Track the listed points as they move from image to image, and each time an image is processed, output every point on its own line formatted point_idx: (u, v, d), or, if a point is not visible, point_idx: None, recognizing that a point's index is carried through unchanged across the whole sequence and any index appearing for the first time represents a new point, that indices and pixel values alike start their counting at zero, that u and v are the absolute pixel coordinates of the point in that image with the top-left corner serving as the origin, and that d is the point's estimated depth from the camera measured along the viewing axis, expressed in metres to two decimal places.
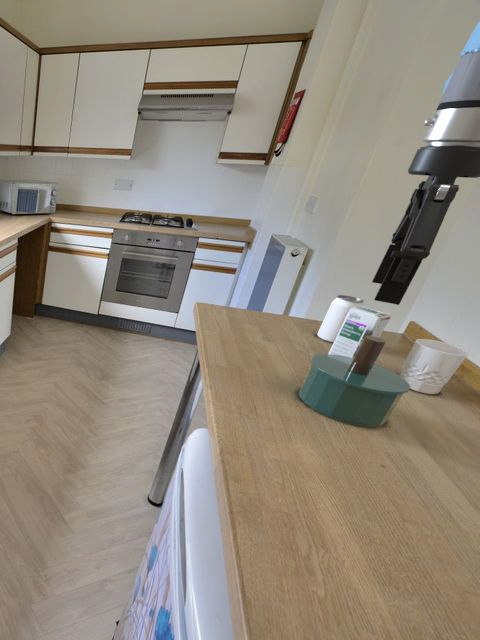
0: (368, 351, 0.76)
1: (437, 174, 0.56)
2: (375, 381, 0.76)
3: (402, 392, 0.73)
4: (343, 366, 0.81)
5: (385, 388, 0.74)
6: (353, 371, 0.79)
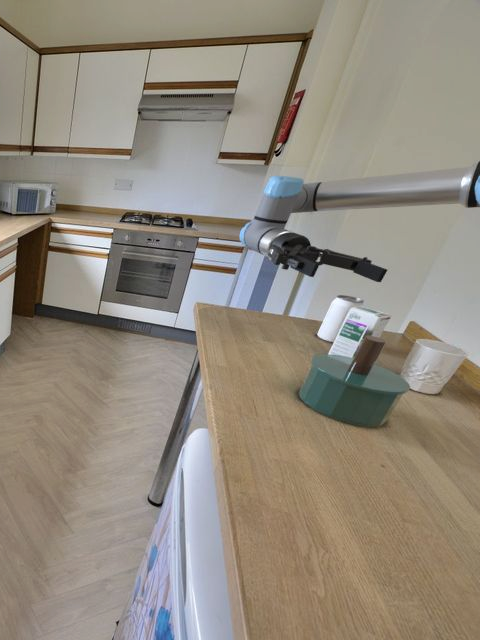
0: (368, 351, 0.76)
1: None
2: (375, 381, 0.76)
3: (402, 392, 0.73)
4: (343, 366, 0.81)
5: (385, 388, 0.74)
6: (353, 371, 0.79)
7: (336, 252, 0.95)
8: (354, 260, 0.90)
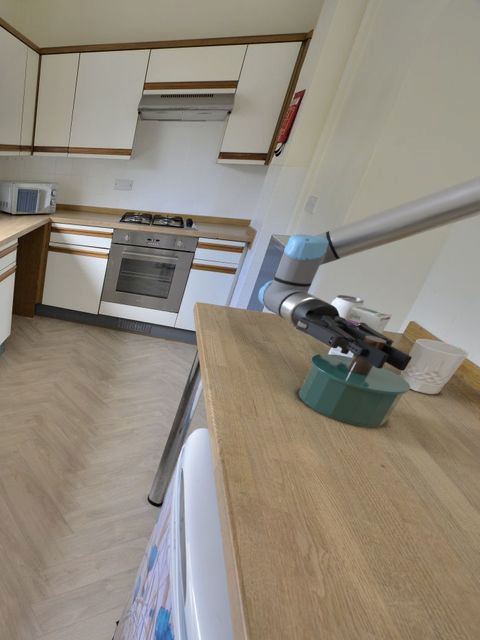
0: None
1: None
2: (375, 381, 0.76)
3: (402, 392, 0.73)
4: (343, 366, 0.81)
5: (385, 388, 0.74)
6: (353, 371, 0.79)
7: (367, 327, 0.84)
8: None
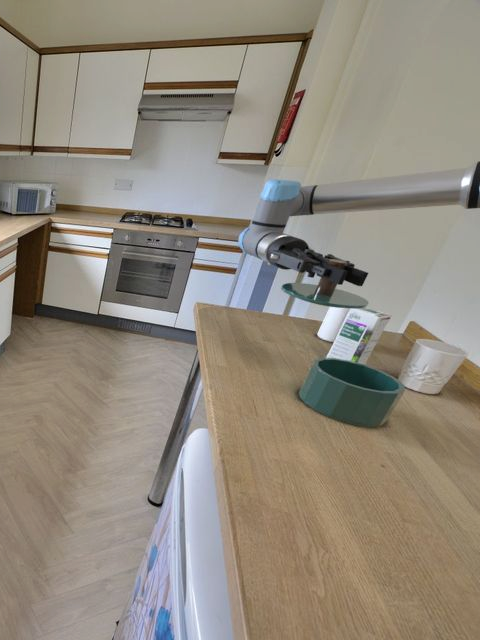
0: None
1: None
2: (337, 299, 0.83)
3: (360, 306, 0.80)
4: (310, 290, 0.88)
5: (345, 303, 0.81)
6: (318, 293, 0.86)
7: (333, 257, 0.91)
8: None
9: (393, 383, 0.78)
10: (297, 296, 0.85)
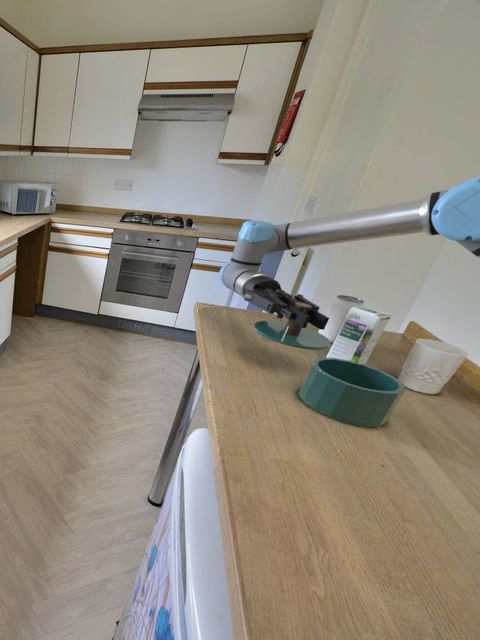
0: None
1: None
2: (302, 340, 0.91)
3: (323, 348, 0.88)
4: (279, 329, 0.96)
5: (309, 344, 0.89)
6: (286, 333, 0.94)
7: (302, 297, 0.99)
8: None
9: (393, 383, 0.78)
10: (266, 336, 0.93)
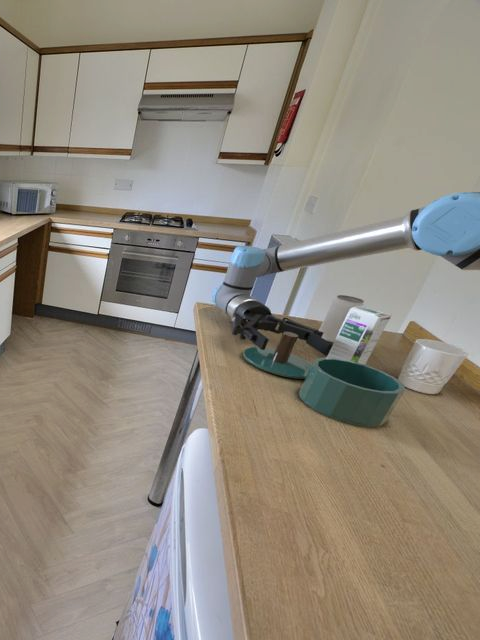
0: (284, 344, 0.95)
1: None
2: (290, 368, 0.94)
3: None
4: (268, 357, 0.99)
5: (296, 373, 0.92)
6: (274, 360, 0.97)
7: (293, 321, 1.03)
8: (307, 332, 0.98)
9: (393, 383, 0.78)
10: (255, 364, 0.96)
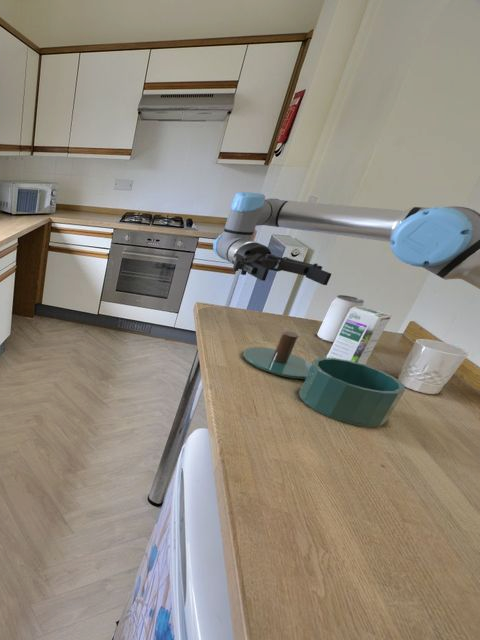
0: (284, 344, 0.95)
1: (241, 261, 1.11)
2: (290, 368, 0.94)
3: None
4: (268, 357, 0.99)
5: (296, 373, 0.92)
6: (274, 360, 0.97)
7: None
8: (306, 266, 1.00)
9: (393, 383, 0.78)
10: (255, 364, 0.96)
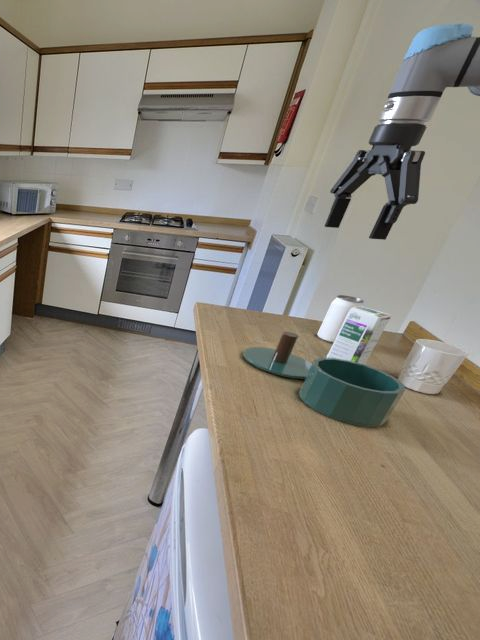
0: (284, 344, 0.95)
1: (402, 143, 0.79)
2: (290, 368, 0.94)
3: None
4: (268, 357, 0.99)
5: (296, 373, 0.92)
6: (274, 360, 0.97)
7: (364, 164, 0.90)
8: (351, 192, 0.92)
9: (393, 383, 0.78)
10: (255, 364, 0.96)
